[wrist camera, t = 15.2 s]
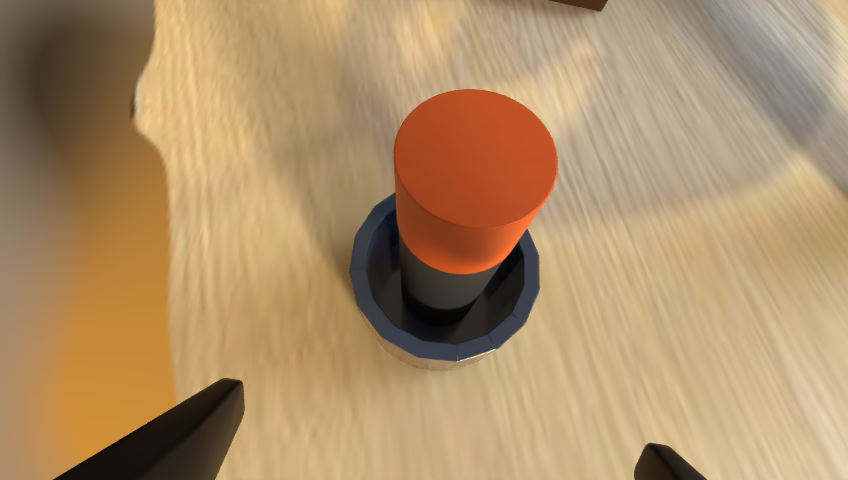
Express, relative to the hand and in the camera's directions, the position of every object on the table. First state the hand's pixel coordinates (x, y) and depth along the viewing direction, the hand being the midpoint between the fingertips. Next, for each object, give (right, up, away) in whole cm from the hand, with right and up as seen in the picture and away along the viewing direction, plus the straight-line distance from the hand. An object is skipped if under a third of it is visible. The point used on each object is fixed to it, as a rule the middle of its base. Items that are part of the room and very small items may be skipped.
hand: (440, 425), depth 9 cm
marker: (0, +1, +13) cm, 13 cm away
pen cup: (0, +1, +13) cm, 13 cm away
